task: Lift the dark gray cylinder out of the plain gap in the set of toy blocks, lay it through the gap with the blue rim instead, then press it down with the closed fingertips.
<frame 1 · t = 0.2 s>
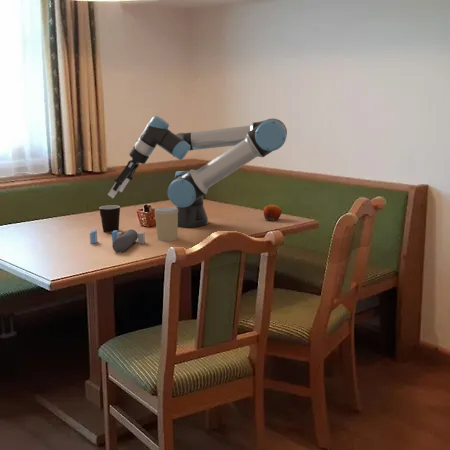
hand: (114, 193, 276), 16 cm above the table, tool tilted 35°, fingers open, 13 cm apart
coffee cup: (167, 239, 262), on the table
fruit: (272, 220, 293), on the table
set of toy blocks: (117, 242, 257), on the table
dark gray cylinder: (125, 247, 251), on the table
coffee mug: (112, 230, 280), on the table
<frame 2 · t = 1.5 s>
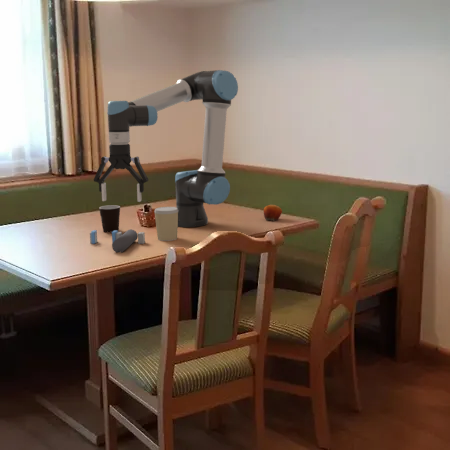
hand: (121, 201, 248), 17 cm above the table, tool pointing down, fingers open, 13 cm apart
nothing on the table moved.
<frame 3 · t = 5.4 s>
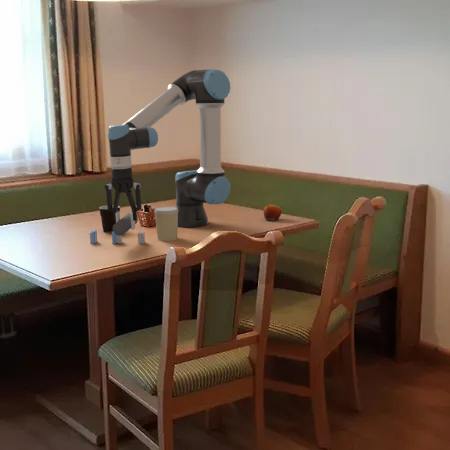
hand: (126, 229, 250), 7 cm above the table, tool pointing down, fingers closed on dark gray cylinder, 5 cm apart
dark gray cylinder: (128, 229, 250), point 6 cm above the table, tilted 22°, touching gripper
everything else where it was.
when the fingers open (0 cm above the table, at t = 10.0 s): dark gray cylinder stays where it is, on the table.
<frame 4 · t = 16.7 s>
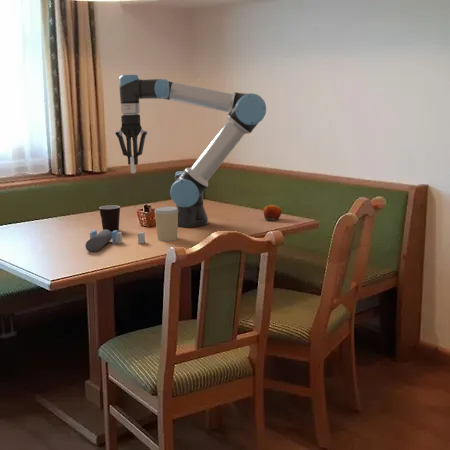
hand: (133, 172, 272), 24 cm above the table, tool pointing down, fingers closed
dark gray cylinder: (101, 246, 252), on the table, tilted 18°
everything else where it was.
at the end: dark gray cylinder inside the target area (0.6 cm from its centre), on the table; the gripper is holding nothing; dark gray cylinder touching table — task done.
